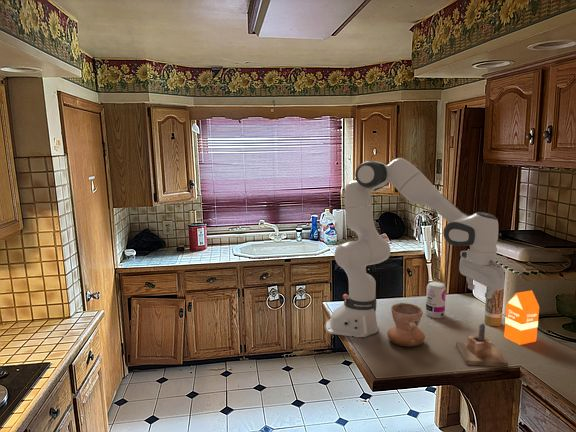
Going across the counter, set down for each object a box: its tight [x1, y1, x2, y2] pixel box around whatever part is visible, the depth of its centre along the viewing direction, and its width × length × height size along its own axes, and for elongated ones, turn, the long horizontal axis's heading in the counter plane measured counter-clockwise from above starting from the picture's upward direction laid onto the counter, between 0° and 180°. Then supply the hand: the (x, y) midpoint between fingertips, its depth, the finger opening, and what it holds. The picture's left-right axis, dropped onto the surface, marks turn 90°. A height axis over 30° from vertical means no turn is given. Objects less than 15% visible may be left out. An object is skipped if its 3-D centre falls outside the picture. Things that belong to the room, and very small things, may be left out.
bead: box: [466, 335, 493, 357], centre depth 157 cm, size 6×6×5 cm
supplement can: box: [425, 281, 447, 319], centre depth 194 cm, size 8×8×15 cm
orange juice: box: [503, 289, 540, 346], centre depth 169 cm, size 8×9×20 cm
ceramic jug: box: [386, 302, 426, 348], centre depth 169 cm, size 18×14×14 cm
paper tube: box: [483, 266, 506, 327], centre depth 183 cm, size 7×7×25 cm
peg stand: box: [455, 323, 508, 367], centre depth 157 cm, size 14×14×12 cm
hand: (479, 293), depth 156 cm, fingers open, 8 cm apart
